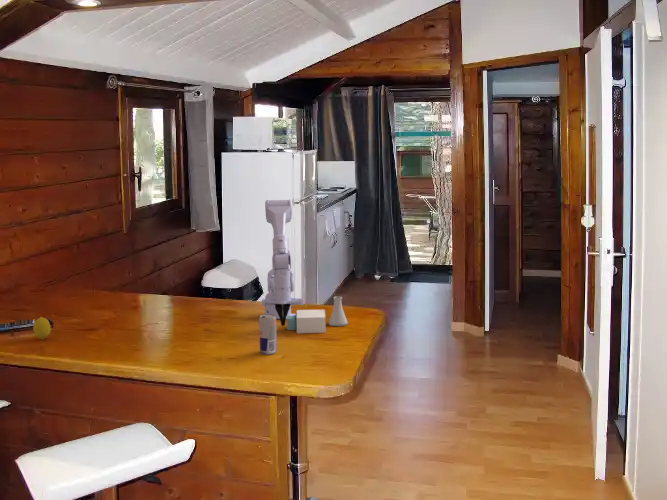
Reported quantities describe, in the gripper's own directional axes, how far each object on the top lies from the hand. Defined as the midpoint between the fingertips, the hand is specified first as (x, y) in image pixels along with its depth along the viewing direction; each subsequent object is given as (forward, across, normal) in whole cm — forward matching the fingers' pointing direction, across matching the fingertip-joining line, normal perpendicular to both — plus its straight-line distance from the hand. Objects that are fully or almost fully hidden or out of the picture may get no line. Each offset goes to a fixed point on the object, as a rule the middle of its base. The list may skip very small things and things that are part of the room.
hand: (283, 324), depth 266 cm
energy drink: (+2, -4, -27) cm, 27 cm away
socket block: (+2, +10, 0) cm, 10 cm away
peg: (+1, +5, 0) cm, 6 cm away
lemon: (+2, -82, -6) cm, 82 cm away
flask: (+2, +20, +5) cm, 20 cm away
